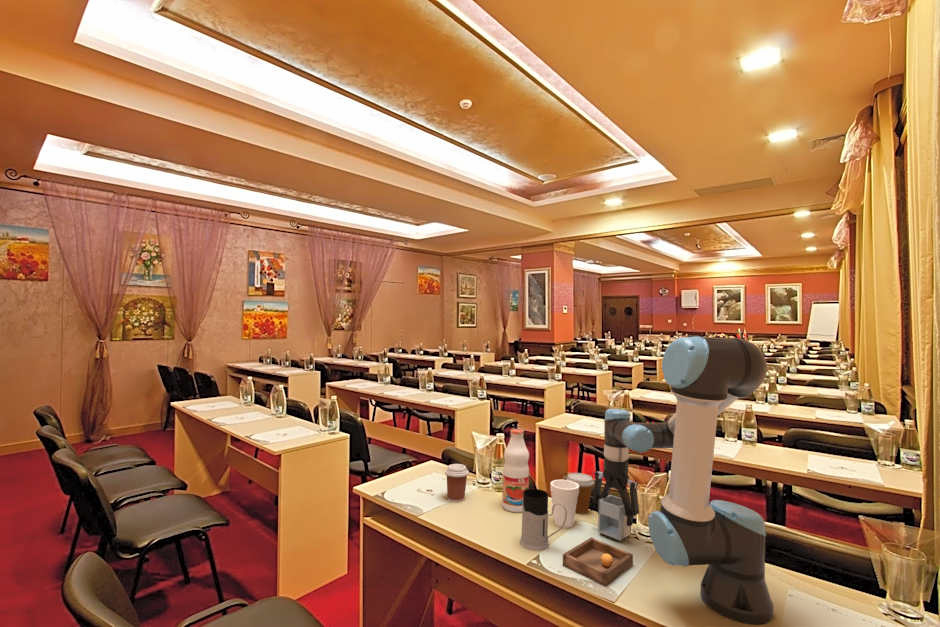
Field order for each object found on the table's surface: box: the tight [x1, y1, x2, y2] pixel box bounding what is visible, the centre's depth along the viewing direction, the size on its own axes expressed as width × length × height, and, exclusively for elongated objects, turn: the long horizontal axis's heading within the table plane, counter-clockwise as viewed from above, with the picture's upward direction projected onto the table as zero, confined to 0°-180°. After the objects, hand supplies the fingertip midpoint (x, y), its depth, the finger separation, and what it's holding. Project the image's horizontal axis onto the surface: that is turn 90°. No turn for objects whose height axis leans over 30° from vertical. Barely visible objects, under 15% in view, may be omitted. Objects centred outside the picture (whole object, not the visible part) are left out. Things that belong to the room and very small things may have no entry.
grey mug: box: [519, 488, 567, 551], centre depth 132 cm, size 9×14×15 cm, turn 59°
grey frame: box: [597, 494, 632, 541], centre depth 140 cm, size 7×7×10 cm
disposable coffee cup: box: [566, 472, 595, 515], centre depth 159 cm, size 10×10×12 cm
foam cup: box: [549, 479, 579, 529], centre depth 148 cm, size 10×9×13 cm
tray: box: [562, 537, 634, 587], centre depth 122 cm, size 13×15×3 cm
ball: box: [601, 553, 613, 567], centre depth 121 cm, size 3×3×3 cm
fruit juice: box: [501, 428, 530, 513], centre depth 160 cm, size 9×9×28 cm
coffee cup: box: [444, 463, 470, 503], centre depth 166 cm, size 9×9×12 cm
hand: (614, 530), depth 140 cm, fingers closed on grey frame, 7 cm apart
